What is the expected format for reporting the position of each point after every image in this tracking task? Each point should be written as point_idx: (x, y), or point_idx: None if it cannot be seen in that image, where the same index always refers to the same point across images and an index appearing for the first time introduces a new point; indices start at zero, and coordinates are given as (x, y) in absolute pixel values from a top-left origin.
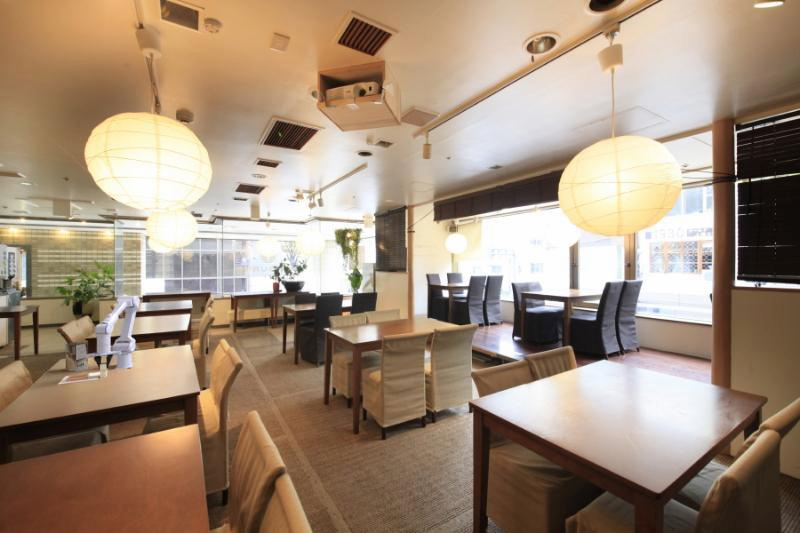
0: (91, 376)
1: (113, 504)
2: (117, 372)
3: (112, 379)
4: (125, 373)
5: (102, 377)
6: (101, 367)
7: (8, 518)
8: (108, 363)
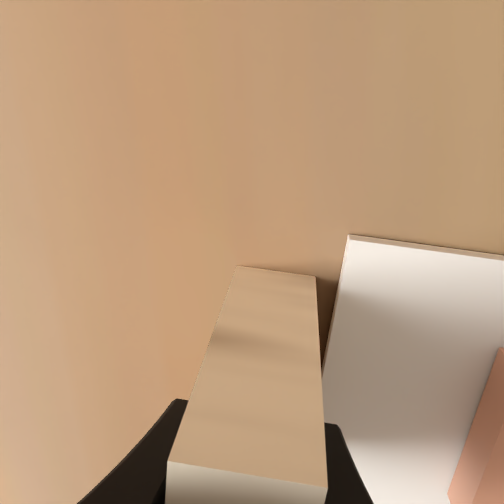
0: (424, 443)
1: None
2: (116, 452)
3: (131, 109)
4: (3, 341)
5: (281, 279)
6: (289, 411)
7: None
8: (107, 489)
